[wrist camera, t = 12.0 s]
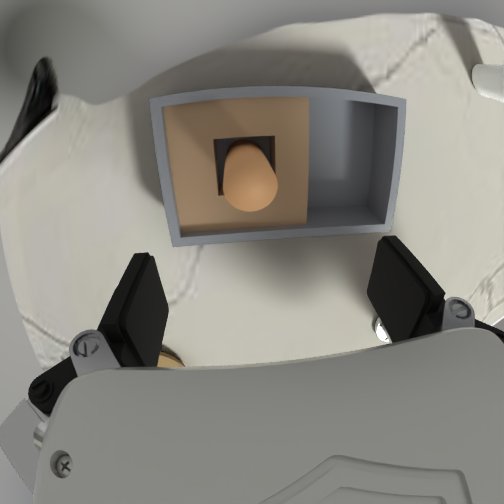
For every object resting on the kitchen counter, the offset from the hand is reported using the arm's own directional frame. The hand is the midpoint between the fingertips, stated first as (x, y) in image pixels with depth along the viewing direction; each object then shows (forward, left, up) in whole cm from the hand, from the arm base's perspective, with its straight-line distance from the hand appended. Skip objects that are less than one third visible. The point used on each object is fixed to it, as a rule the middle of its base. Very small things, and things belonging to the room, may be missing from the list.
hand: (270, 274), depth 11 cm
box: (-4, 0, -21) cm, 22 cm away
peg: (0, 0, -20) cm, 20 cm away
